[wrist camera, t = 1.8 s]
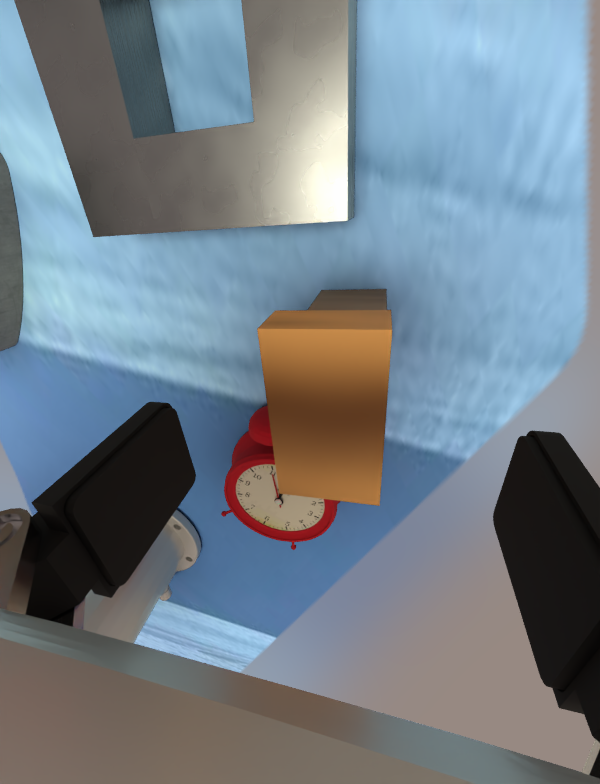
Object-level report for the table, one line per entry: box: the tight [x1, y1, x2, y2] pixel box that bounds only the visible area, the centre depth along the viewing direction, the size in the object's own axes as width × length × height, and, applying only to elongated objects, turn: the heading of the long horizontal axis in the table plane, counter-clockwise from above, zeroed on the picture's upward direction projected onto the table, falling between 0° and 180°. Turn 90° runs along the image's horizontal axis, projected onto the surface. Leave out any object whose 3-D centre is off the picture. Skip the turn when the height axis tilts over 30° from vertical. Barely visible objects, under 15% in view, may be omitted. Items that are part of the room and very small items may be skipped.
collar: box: [14, 0, 357, 237], centre depth 15 cm, size 14×14×4 cm
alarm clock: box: [222, 406, 340, 550], centre depth 27 cm, size 10×6×15 cm
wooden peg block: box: [257, 289, 392, 506], centre depth 16 cm, size 7×4×12 cm, turn 4°
